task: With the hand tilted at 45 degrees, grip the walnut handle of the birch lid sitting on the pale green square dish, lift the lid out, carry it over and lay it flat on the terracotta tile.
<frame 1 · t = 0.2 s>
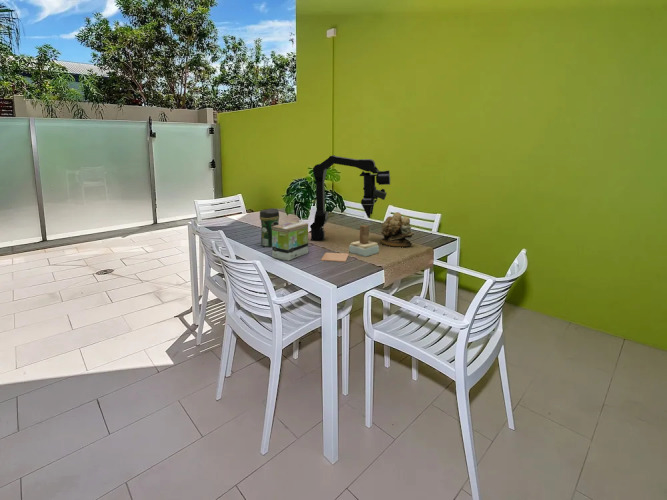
hand: (370, 215, 193), 14 cm above the table, tool pointing down, fingers open, 9 cm apart
brown lumpy sculpture: (396, 244, 194), on the table
tea box: (290, 255, 175), on the table
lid: (364, 245, 179), point 3 cm above the table, touching pale green square dish
pale green square dish: (363, 252, 180), on the table
coffee jar: (270, 245, 192), on the table
tile: (335, 257, 172), on the table
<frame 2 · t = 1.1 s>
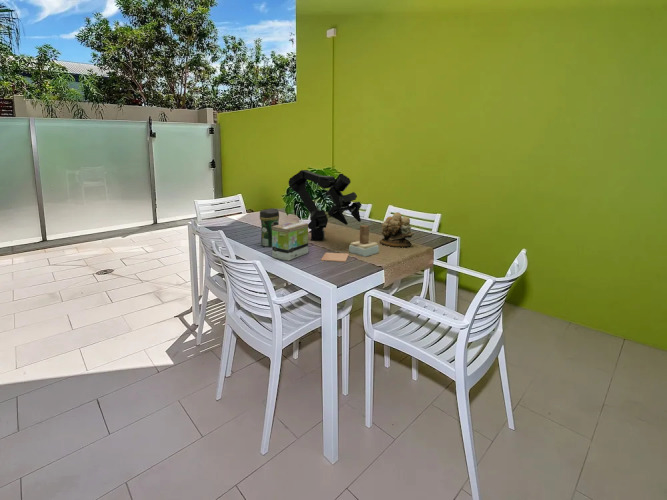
hand: (353, 222, 181), 13 cm above the table, tool tilted 45°, fingers open, 9 cm apart
nothing on the table moved.
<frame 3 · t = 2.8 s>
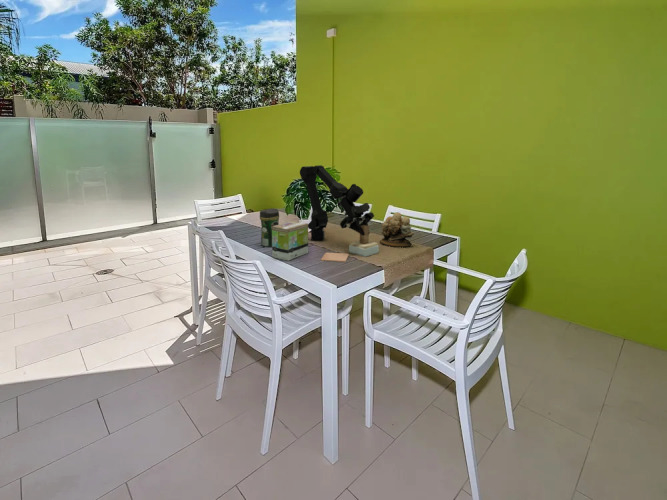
hand: (366, 234, 176), 9 cm above the table, tool tilted 45°, fingers closed on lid, 3 cm apart
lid: (364, 245, 179), point 3 cm above the table, touching pale green square dish, gripper
everything else where it was.
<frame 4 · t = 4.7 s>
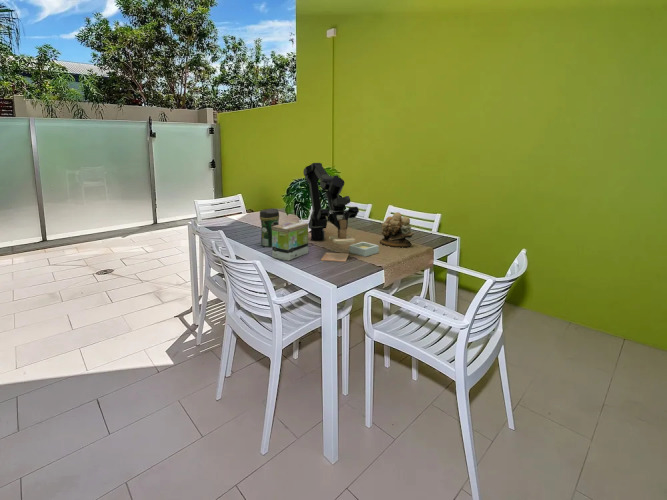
hand: (343, 229, 168), 13 cm above the table, tool tilted 45°, fingers closed on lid, 3 cm apart
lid: (342, 240, 171), point 8 cm above the table, touching gripper
everything else where it was.
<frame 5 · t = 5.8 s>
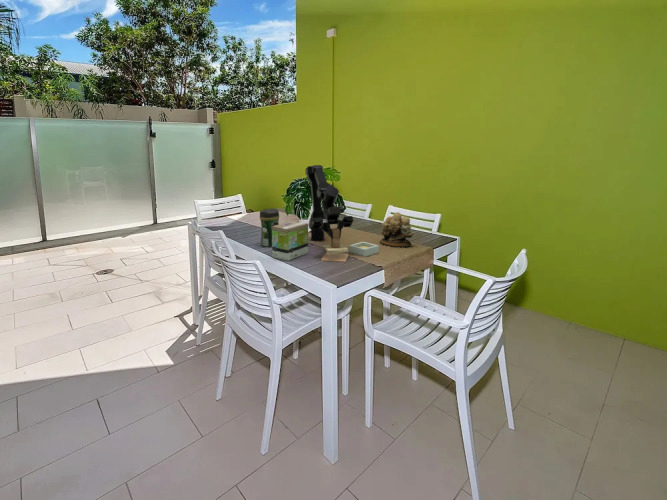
hand: (336, 238, 168), 9 cm above the table, tool tilted 45°, fingers closed on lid, 3 cm apart
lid: (335, 249, 171), point 4 cm above the table, touching gripper
everything else where it was.
when the fingers open (7 cm above the table, at t = 6.5 s): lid stays where it is, resting on tile.
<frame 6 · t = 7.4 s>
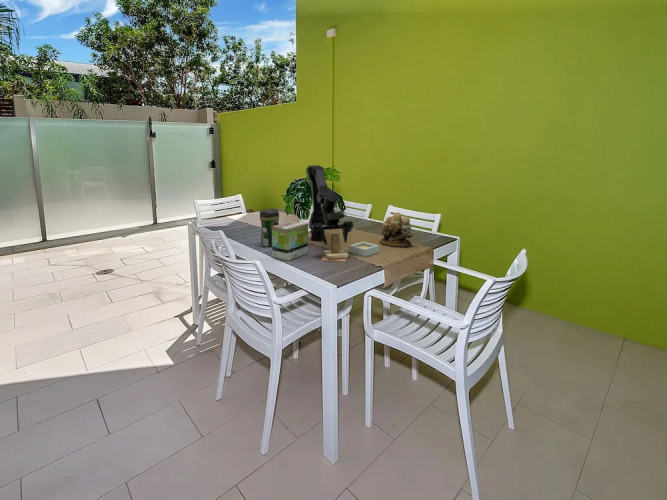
hand: (336, 243, 168), 7 cm above the table, tool tilted 45°, fingers open, 9 cm apart
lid: (335, 254, 171), point 1 cm above the table, touching tile
everything else where it was.
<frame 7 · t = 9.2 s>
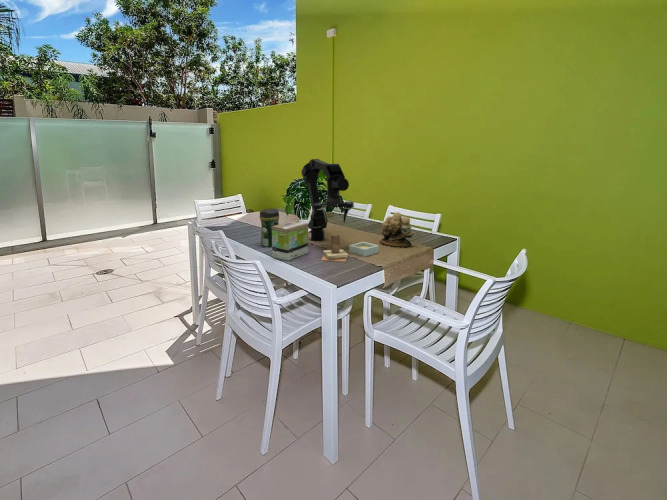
hand: (334, 223, 183), 13 cm above the table, tool pointing down, fingers open, 9 cm apart
nothing on the table moved.
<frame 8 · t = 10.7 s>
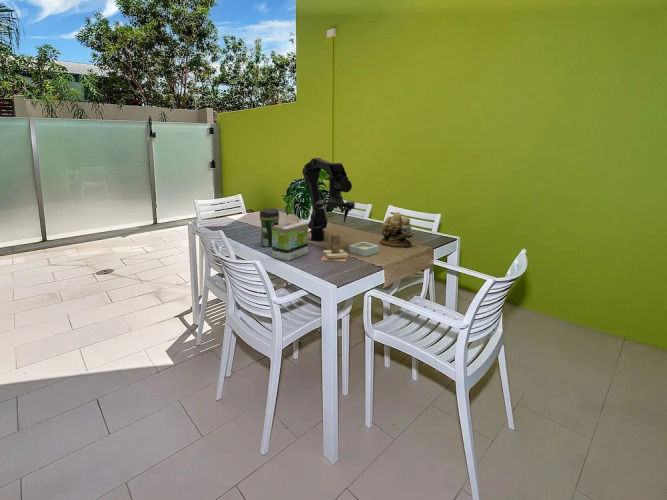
hand: (335, 222, 184), 13 cm above the table, tool pointing down, fingers open, 9 cm apart
nothing on the table moved.
at the end: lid inside the target area on the tile (0.0 cm from its centre), point 1.3 cm above the tile's base; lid tilted 0°; the gripper is holding nothing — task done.
